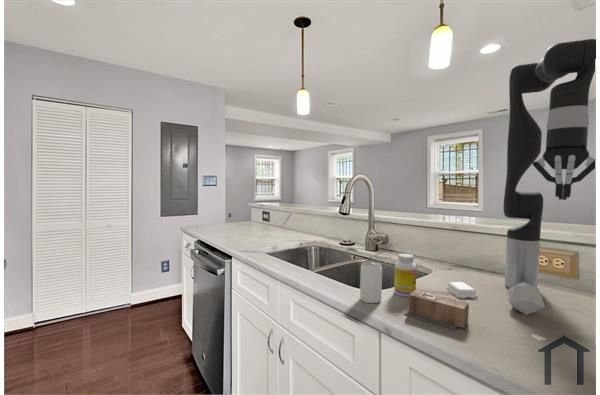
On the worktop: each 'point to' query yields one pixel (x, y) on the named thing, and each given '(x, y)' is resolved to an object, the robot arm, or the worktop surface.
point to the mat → (430, 320)
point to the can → (371, 281)
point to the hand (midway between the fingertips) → (562, 199)
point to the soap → (461, 290)
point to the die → (525, 298)
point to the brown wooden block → (439, 308)
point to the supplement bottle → (405, 275)
